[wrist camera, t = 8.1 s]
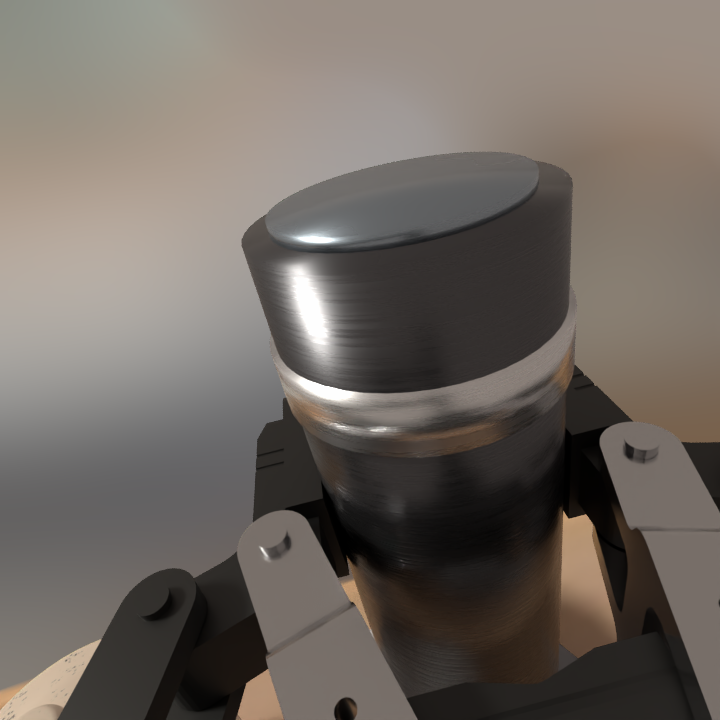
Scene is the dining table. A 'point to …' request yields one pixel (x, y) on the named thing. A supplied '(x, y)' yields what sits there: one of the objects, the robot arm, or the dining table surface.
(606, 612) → the dining table surface
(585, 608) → the dining table surface
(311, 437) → the lens
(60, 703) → the teacup with lid
